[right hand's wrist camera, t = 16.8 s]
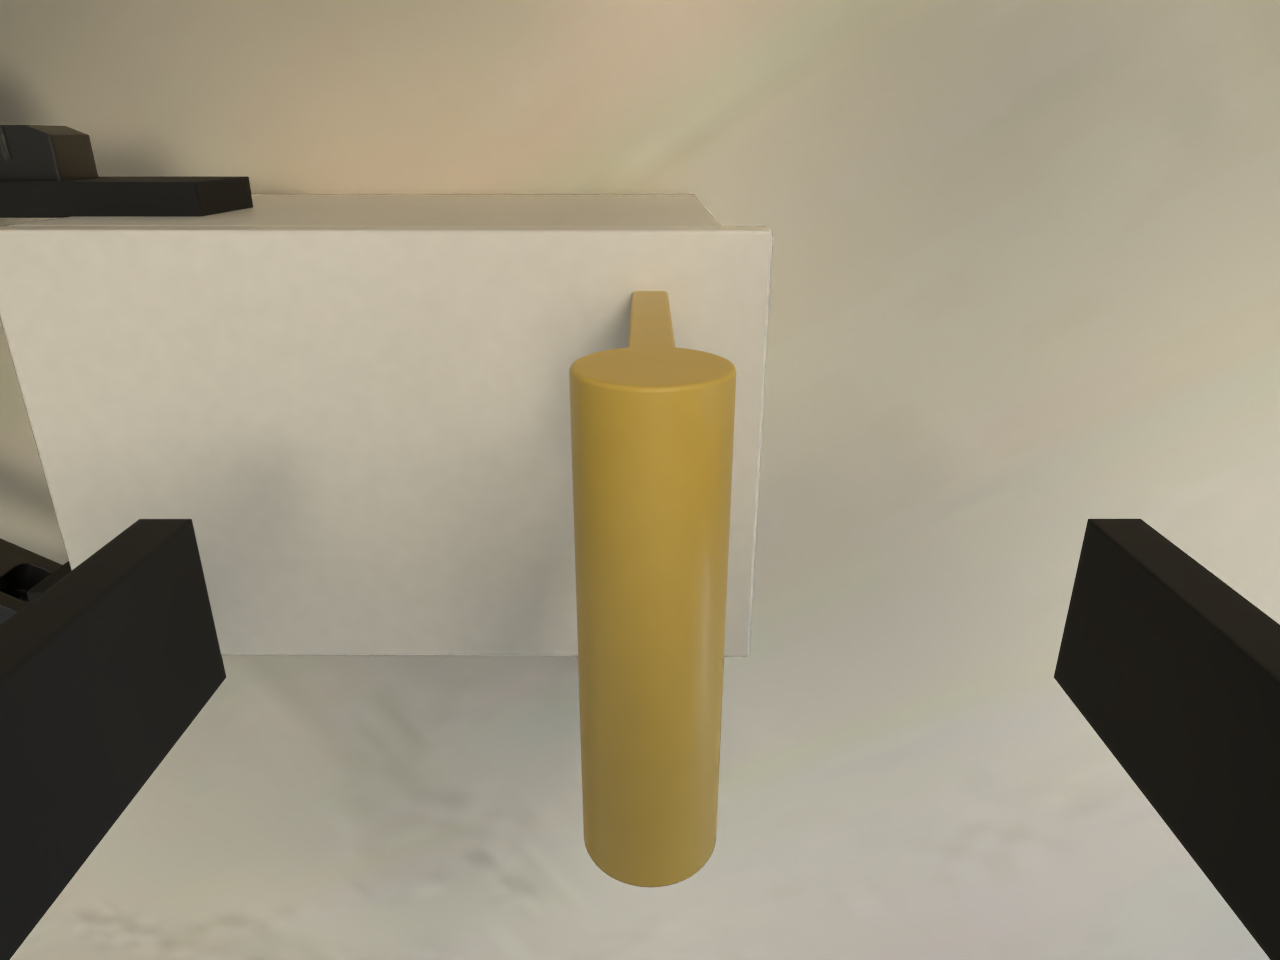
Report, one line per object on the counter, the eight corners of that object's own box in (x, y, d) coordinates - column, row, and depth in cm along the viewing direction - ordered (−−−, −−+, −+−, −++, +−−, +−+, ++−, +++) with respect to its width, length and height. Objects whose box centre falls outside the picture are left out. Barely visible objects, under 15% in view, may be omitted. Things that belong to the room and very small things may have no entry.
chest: (695, 194, 26) (723, 225, 17) (688, 480, 30) (708, 638, 21) (233, 194, 26) (5, 225, 17) (282, 479, 30) (115, 635, 21)
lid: (768, 226, 17) (870, 299, 9) (745, 638, 20) (805, 939, 13) (3, 225, 17) (-527, 297, 9) (114, 637, 21) (-202, 933, 13)
